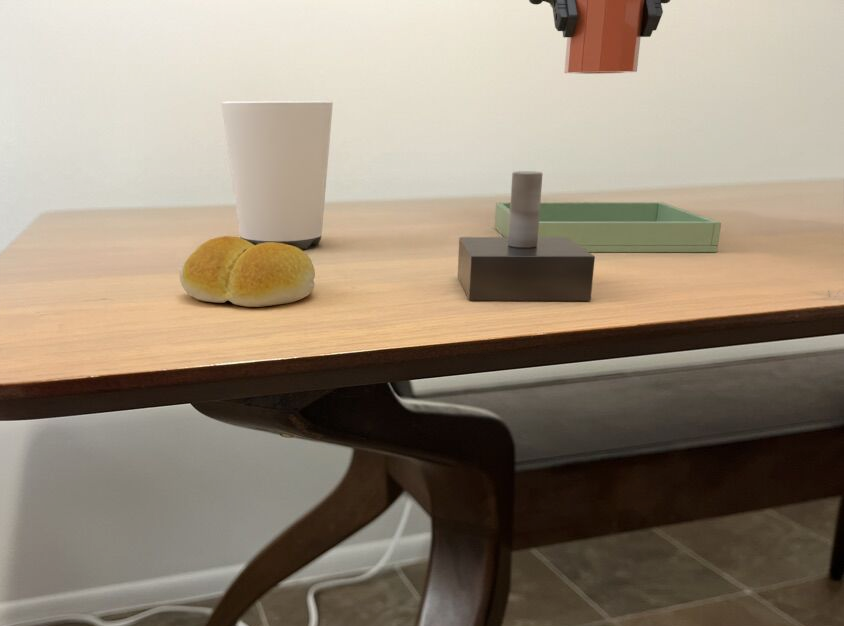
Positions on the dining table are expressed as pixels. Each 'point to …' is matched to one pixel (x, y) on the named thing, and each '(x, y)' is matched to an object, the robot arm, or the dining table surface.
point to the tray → (622, 226)
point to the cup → (279, 168)
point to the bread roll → (247, 272)
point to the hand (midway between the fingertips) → (610, 28)
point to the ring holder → (525, 256)
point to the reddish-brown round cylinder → (605, 37)
